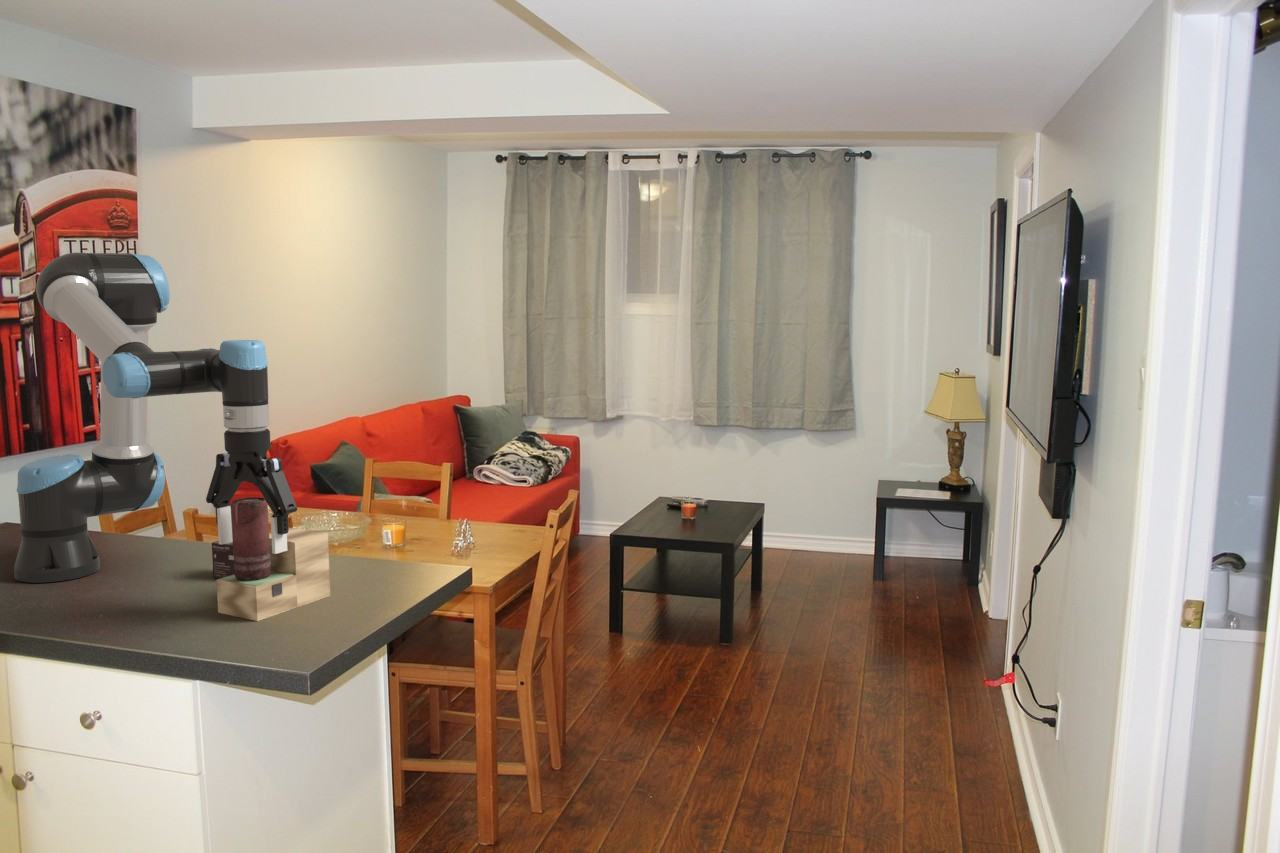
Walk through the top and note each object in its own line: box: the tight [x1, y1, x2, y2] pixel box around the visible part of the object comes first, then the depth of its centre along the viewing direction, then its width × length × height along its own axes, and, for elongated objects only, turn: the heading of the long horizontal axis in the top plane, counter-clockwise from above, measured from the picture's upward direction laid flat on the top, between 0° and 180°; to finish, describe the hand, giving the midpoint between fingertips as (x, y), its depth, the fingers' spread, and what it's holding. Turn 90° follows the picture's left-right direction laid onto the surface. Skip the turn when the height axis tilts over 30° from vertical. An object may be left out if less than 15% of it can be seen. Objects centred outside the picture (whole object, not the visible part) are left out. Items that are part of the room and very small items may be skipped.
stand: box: [216, 527, 331, 622], centre depth 187 cm, size 10×17×12 cm, turn 151°
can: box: [230, 496, 271, 581], centre depth 183 cm, size 6×6×14 cm
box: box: [211, 540, 234, 579], centre depth 206 cm, size 6×6×7 cm
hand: (252, 547), depth 183 cm, fingers open, 13 cm apart
